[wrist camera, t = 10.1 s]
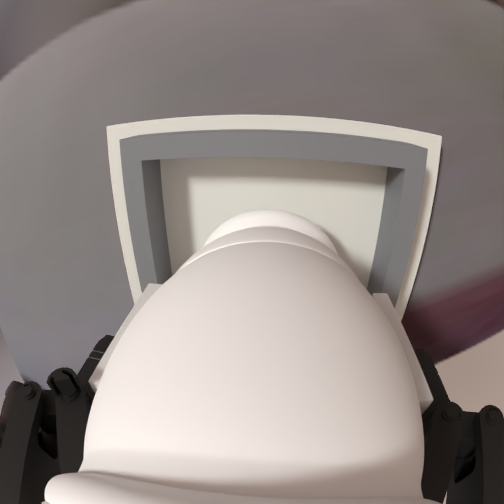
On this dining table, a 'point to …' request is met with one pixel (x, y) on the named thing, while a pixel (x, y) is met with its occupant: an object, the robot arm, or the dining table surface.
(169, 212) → the socket board
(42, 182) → the dining table surface
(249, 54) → the dining table surface
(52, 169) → the dining table surface
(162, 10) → the dining table surface
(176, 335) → the jar
